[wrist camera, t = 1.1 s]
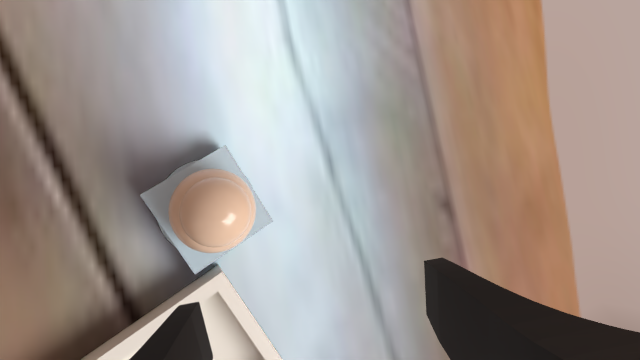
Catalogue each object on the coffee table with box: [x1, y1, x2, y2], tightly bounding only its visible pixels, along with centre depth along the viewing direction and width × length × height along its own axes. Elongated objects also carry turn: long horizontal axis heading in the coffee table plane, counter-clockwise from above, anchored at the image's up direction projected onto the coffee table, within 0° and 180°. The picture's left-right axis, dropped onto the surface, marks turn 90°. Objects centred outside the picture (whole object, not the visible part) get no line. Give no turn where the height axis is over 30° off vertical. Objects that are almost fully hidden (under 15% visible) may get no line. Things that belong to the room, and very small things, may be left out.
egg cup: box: [140, 145, 273, 274], centre depth 24 cm, size 6×6×2 cm
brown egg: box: [168, 169, 256, 253], centre depth 21 cm, size 5×5×5 cm
